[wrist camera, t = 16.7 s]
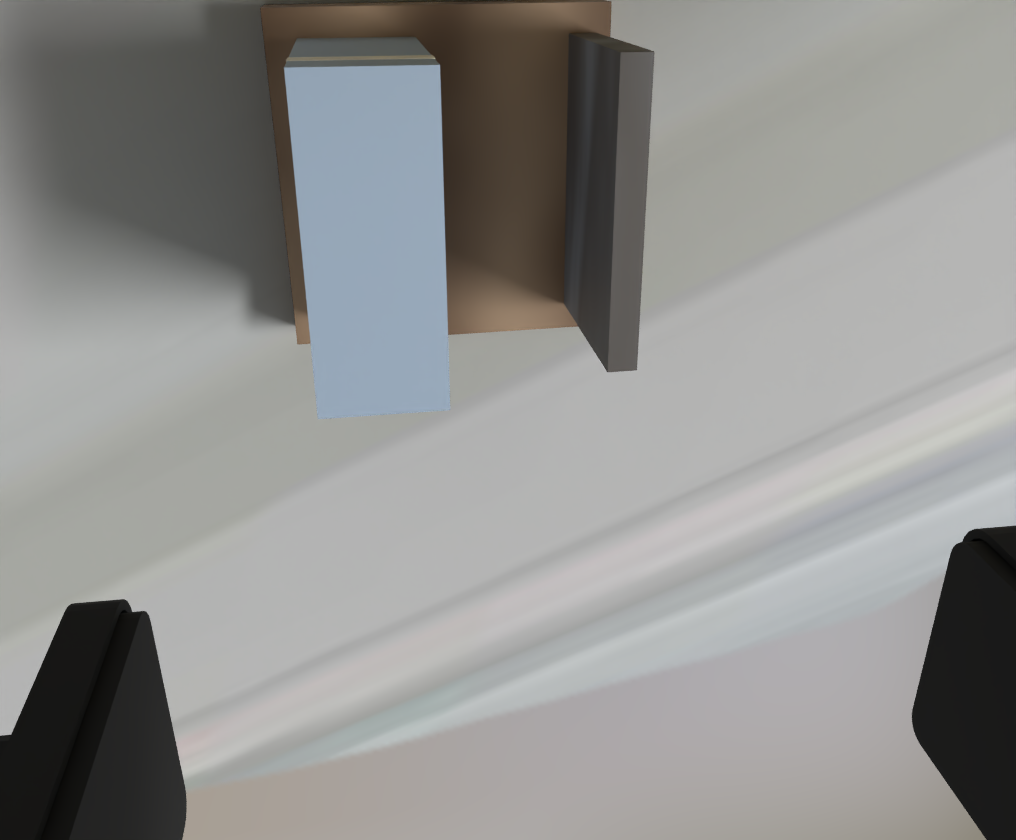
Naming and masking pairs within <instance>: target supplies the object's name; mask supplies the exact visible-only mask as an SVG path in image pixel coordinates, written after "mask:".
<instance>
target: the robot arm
mask: <svg viewBox="0 0 1016 840" xmlns="http://www.w3.org/2000/svg"><path fill="white" fill-rule="evenodd" d="M912 723H913V728H914V732H915V735H916V737H917V739H918V741H919V743H920V745H921V746H922V748H923V749H924V751H925V752H926V753H927V755H928V756H929V757H930V759H931V761H932V762H933V763H934V765H935V766H936V768H937V769H938V770H939V772H940V773H941V775H942V776H943V778H944V779H945V781H946V782H947V784H948V785H949V786H950V788H951V789H952V790H953V792H954V793H955V795H956V796H957V798H958V799H959V801H960V802H961V803H962V805H963V806H964V808H965V809H966V811H967V812H968V814H969V815H970V816H971V818H972V819H973V821H974V822H975V823H976V825H977V826H978V828H979V829H980V831H981V832H982V834H983V835H984V836H985V838H986V839H987V840H1016V526H1006V527H994V528H982V529H974V530H971V531H969V532H968V533H967V534H966V536H965V537H964V539H963V541H962V542H961V543H958V544H956V545H955V546H954V547H953V549H952V552H951V554H950V558H949V562H948V566H947V571H946V575H945V579H944V583H943V587H942V591H941V595H940V599H939V603H938V607H937V612H936V616H935V620H934V624H933V628H932V632H931V636H930V640H929V645H928V648H927V653H926V657H925V661H924V665H923V669H922V673H921V677H920V682H919V685H918V690H917V694H916V698H915V702H914V706H913V711H912ZM185 821H186V791H185V785H184V780H183V775H182V770H181V766H180V761H179V756H178V751H177V746H176V741H175V737H174V732H173V727H172V722H171V717H170V713H169V708H168V703H167V698H166V693H165V689H164V684H163V679H162V674H161V669H160V665H159V660H158V655H157V650H156V645H155V641H154V636H153V631H152V626H151V622H150V618H149V615H148V614H147V612H145V611H140V612H132V610H131V607H130V605H129V603H128V601H126V600H124V599H122V600H110V601H98V602H86V603H74V604H71V605H69V606H68V607H67V609H66V611H65V612H64V615H63V617H62V619H61V621H60V624H59V626H58V628H57V631H56V633H55V635H54V638H53V640H52V642H51V645H50V647H49V649H48V651H47V654H46V656H45V658H44V661H43V663H42V665H41V668H40V670H39V672H38V674H37V677H36V679H35V681H34V684H33V686H32V688H31V691H30V693H29V695H28V698H27V700H26V702H25V704H24V707H23V709H22V711H21V714H20V716H19V718H18V721H17V723H16V725H15V727H14V730H13V732H12V734H11V735H4V736H0V840H182V837H183V832H184V827H185Z"/></svg>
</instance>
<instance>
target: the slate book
mask: <svg viewBox="0 0 1016 840" xmlns="http://www.w3.org/2000/svg"><path fill="white" fill-rule="evenodd" d="M284 72H285V83H286V93H287V103H288V114H289V124H290V134H291V145H292V155H293V166H294V176H295V186H296V197H297V207H298V217H299V228H300V238H301V249H302V259H303V269H304V280H305V290H306V300H307V311H308V321H309V332H310V342H311V352H312V363H313V373H314V383H315V394H316V404H317V415H318V419H327V418H341V417H356V416H371V415H385V414H400V413H415V412H429V411H444V410H450V385H449V351H448V317H447V283H446V250H445V216H444V182H443V148H442V114H441V80H440V64H439V63H438V62H437V61H436V60H435V57H434V56H433V55H431V54H430V53H429V52H428V51H427V50H426V48H425V47H424V46H423V45H422V44H421V43H420V42H419V40H418V39H417V38H416V37H363V38H297V39H296V42H295V44H294V46H293V48H292V51H291V53H290V55H289V57H287V59H286V64H285V67H284Z"/></svg>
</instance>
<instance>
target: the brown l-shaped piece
mask: <svg viewBox="0 0 1016 840" xmlns="http://www.w3.org/2000/svg"><path fill="white" fill-rule="evenodd" d="M260 10H261V19H262V28H263V37H264V46H265V55H266V64H267V73H268V82H269V91H270V100H271V109H272V118H273V127H274V136H275V145H276V154H277V163H278V172H279V181H280V190H281V199H282V208H283V217H284V226H285V235H286V244H287V253H288V262H289V271H290V280H291V289H292V298H293V307H294V316H295V325H296V334H297V343H298V344H311V342H310V332H309V321H308V311H307V300H306V290H305V280H304V269H303V259H302V249H301V238H300V228H299V217H298V207H297V197H296V186H295V176H294V166H293V155H292V145H291V134H290V124H289V114H288V103H287V93H286V83H285V72H284V67H285V64H286V59H287V57H289V55H290V53H291V51H292V48H293V46H294V44H295V42H296V39H297V38H363V37H416V38H417V39H418V40H419V42H420V43H421V44H422V45H423V46H424V47H425V48H426V50H427V51H428V52H429V53H430V54H431V55H433V56H434V57H435V60H436V61H437V62H438V63H439V64H440V80H441V114H442V148H443V182H444V216H445V250H446V283H447V317H448V335H451V334H467V333H482V332H498V331H514V330H529V329H545V328H560V327H576V326H578V327H579V328H580V330H581V331H582V333H583V334H584V336H585V337H586V339H587V341H588V342H589V344H590V345H591V347H592V348H593V350H594V352H595V353H596V355H597V356H598V358H599V359H600V361H601V363H602V364H603V366H604V367H605V369H606V370H607V372H618V371H632V370H637V357H638V339H639V321H640V303H641V284H642V266H643V248H644V230H645V212H646V193H647V175H648V157H649V139H650V121H651V102H652V84H653V66H654V51H651V50H648V49H645V48H642V47H639V46H635V45H632V44H629V43H626V42H623V41H620V40H617V39H614V38H611V37H610V27H611V2H610V1H605V0H511V1H451V2H391V3H332V4H272V5H263V6H262V7H261V8H260Z"/></svg>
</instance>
